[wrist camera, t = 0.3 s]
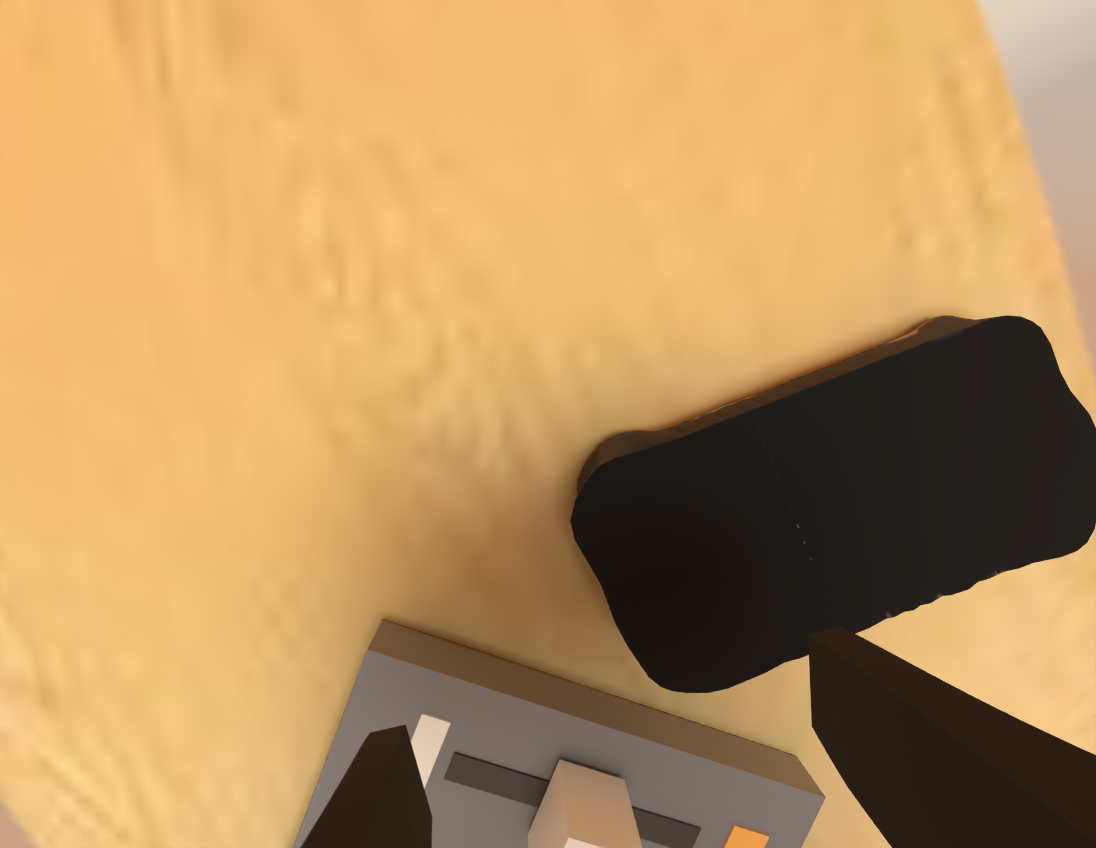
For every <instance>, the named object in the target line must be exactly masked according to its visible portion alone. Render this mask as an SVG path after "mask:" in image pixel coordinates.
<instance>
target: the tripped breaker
mask: <svg viewBox="0 0 1096 848" xmlns="http://www.w3.org/2000/svg"><path fill="white" fill-rule="evenodd" d="M528 848H642V844H641V840H640V837H639V833H638V829H637V825H636V821H635V818H634V814H633V810H632V806H631V802H630V799H629V795H628V791H627V787H626V783H625V780H624V779H621V778H618V777H615V776H611V775H608V774H605V773H602V772H599V771H595V770H592V769H589V768H586V767H583V766H579V765H576V764H573V763H570V762H567V761H564V760H559V762H558V764H557V767H556V769H555V771H554V774H553V776H552V778H551V781H550V783H549V785H548V788H547V790H546V793H545V795H544V797H543V800H542V802H541V804H540V807H539V809H538V811H537V814H536V816H535V818H534V821H533V823H532V826H531V828H530V830H529V833H528Z"/></svg>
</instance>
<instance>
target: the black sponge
mask: <svg viewBox="0 0 1096 848" xmlns="http://www.w3.org/2000/svg"><path fill="white" fill-rule="evenodd" d="M1095 524H1096V427H1095V425H1094V423H1093V421H1092V419H1091V416H1090V414H1089V413H1088V412H1087V410H1086V409H1085V408H1084V407H1083V406H1082V404H1081V403H1080V402H1079V401H1078V399H1077V398H1076V397H1075V396H1074V395H1073V393H1072V392H1071V391H1070V389H1069V387H1068V385H1067V384H1066V382H1065V380H1064V378H1063V376H1062V374H1061V372H1060V370H1059V367H1058V364H1057V361H1056V358H1055V355H1054V352H1053V349H1052V346H1051V344H1050V342H1049V340H1048V339H1047V337H1046V335H1045V334H1044V332H1043V330H1042V329H1041V327H1039V326H1038V325H1036V324H1035V323H1034V322H1032V321H1030V320H1028V319H1025V318H1023V317H1019V316H1001V317H993V318H986V319H979V320H972V319H965V318H959V317H954V316H940V317H935V318H933V319H930V320H927V321H926V322H924V323H923V324H921V325H920V326H919V327H918V328H916V329H915V330H914V331H913V332H911V333H909V334H906V335H904V336H902V337H899V338H897V339H895V340H892V341H890V342H888V343H886V344H884V345H881V346H879V347H878V348H876V349H872V350H869V351H866V352H863V353H861V354H860V355H858V356H854V357H851V358H849V359H846V360H843V361H842V362H840V363H837V364H834V365H831V366H828V367H826V368H823V369H820V370H817V371H815V372H812V373H810V374H809V375H807V376H804V377H801V378H797V379H794V380H791V381H790V382H788V383H786V384H783V385H781V386H778V387H776V388H774V389H771V390H768V391H765V392H763V393H759V394H756V395H754V396H751V397H747V398H744V399H740V400H738V401H736V402H735V403H731V404H727V405H723V406H721V407H719V408H717V409H715V410H712V411H710V412H707V413H705V414H703V415H700V416H698V417H696V418H693V419H691V420H689V421H686V422H684V423H682V424H680V425H679V426H676V427H671V428H668V429H666V430H663V431H656V432H653V431H633V432H627V433H623V434H619V435H616V436H614V437H612V438H610V439H608V440H607V441H605V442H604V443H603V444H601V445H600V446H599V447H598V448H597V449H596V451H595V452H594V453H593V454H592V455H591V457H590V459H589V460H588V462H587V463H586V465H585V466H584V468H583V469H582V472H581V474H580V476H579V479H578V486H577V498H576V500H575V503H574V508H573V512H572V516H571V525H572V529H573V534H574V538H575V541H576V542H577V544H578V546H579V548H580V549H581V551H582V553H583V554H584V556H585V558H586V560H587V561H588V563H589V565H590V566H591V568H592V570H593V572H594V573H595V575H596V577H597V578H598V580H599V582H600V584H601V586H602V589H603V591H604V594H605V597H606V599H607V602H608V605H609V607H610V610H611V613H612V615H613V618H614V621H615V623H616V626H617V627H618V629H619V631H620V633H621V635H622V636H623V638H624V640H625V642H626V644H627V646H628V647H629V649H630V650H631V652H632V653H633V655H634V656H635V658H636V659H637V661H638V662H639V664H640V665H641V666H642V668H643V669H644V671H645V672H646V674H647V675H648V677H649V678H650V679H652V680H653V681H654V682H655V683H657V684H658V685H659V686H660V687H663V688H666V689H668V690H671V691H676V692H684V693H709V692H714V691H718V690H723V689H727V688H730V687H733V686H735V685H737V684H740V683H742V682H745V681H747V680H749V679H752V678H754V677H757V676H759V675H761V674H764V673H766V672H768V671H769V670H771V669H773V668H775V667H777V666H779V665H781V664H782V663H784V662H788V661H791V660H795V659H799V658H801V657H804V656H807V655H809V641H808V634H811V633H815V632H820V631H824V630H829V629H833V628H838V627H842V628H844V629H846V630H848V631H850V632H852V633H854V634H855V633H858V632H860V631H863V630H865V629H868V628H870V627H872V626H874V625H875V624H877V623H879V622H881V621H883V620H884V619H887V618H892V617H895V616H897V615H899V614H901V613H903V612H905V611H911V610H914V609H916V608H917V607H919V606H920V605H924V604H929V603H931V602H933V601H935V600H936V599H938V598H940V597H942V596H946V595H953V594H956V593H959V592H962V591H965V590H968V589H970V588H971V587H972V586H973V585H975V584H976V583H977V582H979V581H982V580H986V579H989V578H991V577H994V576H996V575H998V574H1000V573H1002V572H1004V571H1009V570H1013V569H1018V568H1021V567H1024V566H1026V565H1029V564H1031V563H1035V562H1040V561H1044V560H1049V559H1054V558H1059V557H1062V556H1065V555H1068V554H1070V553H1073V552H1075V551H1077V550H1079V549H1080V548H1081V547H1082V546H1083V545H1085V544H1086V543H1087V542H1088V540H1089V538H1090V537H1091V535H1092V533H1093V531H1094V529H1095Z"/></svg>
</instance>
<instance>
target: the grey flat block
mask: <svg viewBox="0 0 1096 848" xmlns="http://www.w3.org/2000/svg"><path fill="white" fill-rule="evenodd" d="M401 725H406V727H407V730H408V734H409V737H410V741H411V744H412V748H413V751H414V755H415V758H416V762H417V765H418V769H419V772H420V775H421V779H422V782H423V786H424V789H425V793H426V796H427V800H428V803H429V807H430V810H431V814H432V848H528V833H529V830H530V828H531V826H532V823H533V821H534V818H535V816H536V814H537V811H538V809H539V807H540V804H541V802H542V800H543V797H544V795H545V793H546V790H547V788H548V785H549V783H550V781H551V778H552V776H553V774H554V771H555V769H556V767H557V764H558V762H559V760H564V761H567V762H570V763H573V764H576V765H579V766H583V767H586V768H589V769H592V770H595V771H599V772H602V773H605V774H608V775H611V776H615V777H618V778H621V779H624V780H625V783H626V787H627V791H628V795H629V799H630V802H631V806H632V810H633V814H634V818H635V821H636V825H637V829H638V833H639V837H640V840H641V844H642V848H801V847H802V845H803V843H804V841H805V839H806V837H807V835H808V833H809V831H810V828H811V826H812V824H813V822H814V820H815V818H816V816H817V814H818V812H819V810H820V808H821V806H822V804H823V802H824V799H825V796H824V794H823V793H822V792H821V790H820V789H819V787H818V786H817V785H816V783H815V782H814V780H813V779H812V777H811V776H810V775H809V773H808V772H807V770H806V769H805V768H804V766H803V765H802V763H801V762H800V760H799V759H798V758H797V756H794V755H791V754H788V753H785V752H782V751H779V750H776V749H773V748H770V747H767V746H764V745H761V744H758V743H755V742H752V741H749V740H746V739H743V738H739V737H736V736H733V735H730V734H727V733H724V732H721V731H718V730H715V729H712V728H709V727H706V726H703V725H700V724H697V723H694V722H691V721H688V720H685V719H682V718H679V717H676V716H673V715H670V714H667V713H664V712H661V711H658V710H655V709H652V708H649V707H646V706H643V705H639V704H636V703H633V702H630V701H627V700H624V699H621V698H618V697H615V696H612V695H609V694H606V693H603V692H600V691H597V690H594V689H591V688H588V687H585V686H582V685H579V684H576V683H573V682H570V681H567V680H564V679H561V678H558V677H555V676H552V675H549V674H546V673H543V672H540V671H536V670H533V669H530V668H527V667H524V666H521V665H518V664H515V663H512V662H509V661H506V660H503V659H500V658H497V657H494V656H491V655H488V654H485V653H482V652H479V651H476V650H473V649H470V648H467V647H464V646H461V645H458V644H455V643H452V642H449V641H446V640H443V639H440V638H436V637H433V636H430V635H427V634H424V633H421V632H418V631H415V630H412V629H409V628H406V627H403V626H400V625H397V624H394V623H391V622H388V621H385V620H382V621H381V624H380V626H379V628H378V630H377V632H376V634H375V636H374V638H373V640H372V642H371V644H370V646H369V648H368V650H367V653H366V656H365V658H364V661H363V664H362V666H361V669H360V672H359V674H358V677H357V679H356V682H355V685H354V687H353V690H352V693H351V695H350V698H349V701H348V703H347V706H346V709H345V711H344V714H343V717H342V719H341V722H340V725H339V727H338V730H337V733H336V735H335V738H334V741H333V743H332V746H331V749H330V751H329V754H328V756H327V759H326V762H325V764H324V767H323V770H322V772H321V775H320V778H319V780H318V783H317V786H316V788H315V791H314V794H313V796H312V799H311V802H310V804H309V807H308V810H307V812H306V815H305V818H304V820H303V823H302V825H301V828H300V831H299V833H298V836H297V839H296V841H295V844H294V847H293V848H300V847H301V845H302V844H303V842H304V840H305V839H306V837H307V836H308V834H309V832H310V831H311V829H312V828H313V826H314V824H315V823H316V821H317V820H318V818H319V816H320V815H321V813H322V811H323V810H324V808H325V806H326V805H327V803H328V801H329V800H330V798H331V796H332V795H333V793H334V791H335V790H336V788H337V786H338V785H339V783H340V781H341V779H342V778H343V776H344V774H345V773H346V771H347V769H348V767H349V766H350V764H351V762H352V761H353V759H354V757H355V755H356V754H357V752H358V750H359V749H360V747H361V745H362V744H363V742H364V740H365V739H366V737H367V736H368V735H369V733H370V732H375V731H379V730H383V729H388V728H392V727H397V726H401Z"/></svg>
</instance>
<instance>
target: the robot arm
mask: <svg viewBox="0 0 1096 848" xmlns="http://www.w3.org/2000/svg"><path fill="white" fill-rule="evenodd" d="M808 641H809V665H810V690H811V714H812V727H813V729H814V731H815V733H816V734H817V736H818V738H819V740H820V741H821V743H822V745H823V747H824V748H825V750H826V752H827V753H828V755H829V757H830V759H831V760H832V762H833V764H834V765H835V767H836V769H837V770H838V772H839V774H840V775H841V777H842V778H843V780H844V782H845V783H846V785H847V787H848V788H849V789H850V791H851V792H852V794H853V795H854V796H855V798H856V799H857V801H858V802H859V803H860V805H861V806H862V807H863V809H864V810H865V812H866V813H867V814H868V816H869V817H870V818H871V820H872V821H873V822H874V824H875V825H876V826H877V828H878V829H879V831H880V832H881V833H882V835H883V836H884V837H885V839H886V840H887V841H888V843H889V844H890V845H891V847H892V848H1096V755H1094V754H1092V753H1090V752H1087V751H1085V750H1083V749H1081V748H1078V747H1076V746H1074V745H1072V744H1070V743H1068V742H1066V741H1064V740H1061V739H1059V738H1057V737H1055V736H1053V735H1051V734H1049V733H1047V732H1044V731H1042V730H1040V729H1038V728H1036V727H1034V726H1032V725H1030V724H1027V723H1025V722H1023V721H1021V720H1019V719H1017V718H1015V717H1013V716H1011V715H1009V714H1007V713H1005V712H1003V711H1001V710H999V709H997V708H995V707H993V706H991V705H989V704H987V703H985V702H983V701H981V700H979V699H977V698H975V697H973V696H971V695H969V694H967V693H965V692H963V691H961V690H960V689H958V688H956V687H954V686H952V685H950V684H948V683H946V682H944V681H942V680H940V679H939V678H937V677H935V676H933V675H931V674H929V673H927V672H925V671H923V670H922V669H920V668H918V667H916V666H914V665H912V664H910V663H909V662H907V661H905V660H903V659H901V658H899V657H897V656H896V655H894V654H892V653H890V652H888V651H886V650H884V649H882V648H881V647H879V646H877V645H875V644H873V643H871V642H869V641H867V640H866V639H864V638H862V637H860V636H858V635H856V634H854V633H852V632H850V631H848V630H846V629H844V628H842V627H838V628H833V629H829V630H824V631H820V632H815V633H811V634H808ZM300 848H432V814H431V810H430V807H429V803H428V800H427V796H426V793H425V789H424V786H423V782H422V779H421V775H420V772H419V769H418V765H417V762H416V758H415V755H414V751H413V748H412V744H411V741H410V737H409V734H408V730H407V727H406V725H401V726H397V727H392V728H388V729H383V730H379V731H375V732H370V733H369V735H368V736H367V737H366V739H365V740H364V742H363V744H362V745H361V747H360V749H359V750H358V752H357V754H356V755H355V757H354V759H353V761H352V762H351V764H350V766H349V767H348V769H347V771H346V773H345V774H344V776H343V778H342V779H341V781H340V783H339V785H338V786H337V788H336V790H335V791H334V793H333V795H332V796H331V798H330V800H329V801H328V803H327V805H326V806H325V808H324V810H323V811H322V813H321V815H320V816H319V818H318V820H317V821H316V823H315V824H314V826H313V828H312V829H311V831H310V832H309V834H308V836H307V837H306V839H305V840H304V842H303V844H302V845H301V847H300Z"/></svg>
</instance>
